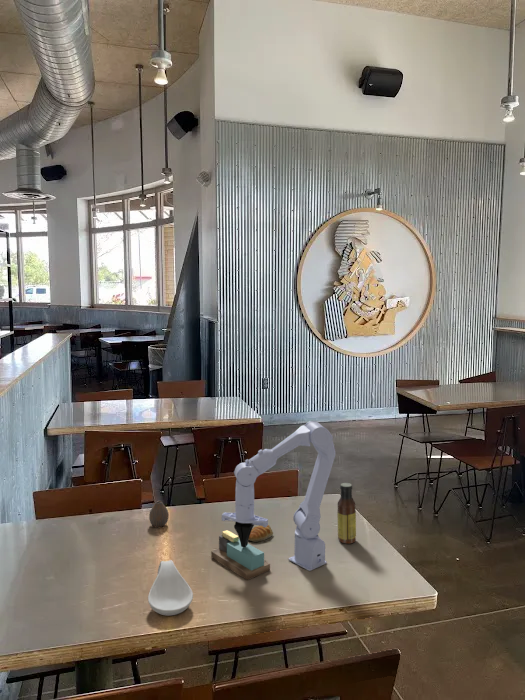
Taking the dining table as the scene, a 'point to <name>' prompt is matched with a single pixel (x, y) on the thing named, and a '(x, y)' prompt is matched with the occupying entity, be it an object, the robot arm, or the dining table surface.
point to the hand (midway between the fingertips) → (244, 545)
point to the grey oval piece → (158, 514)
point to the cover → (245, 555)
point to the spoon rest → (169, 591)
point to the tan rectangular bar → (230, 536)
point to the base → (222, 558)
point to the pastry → (260, 533)
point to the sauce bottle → (346, 515)
